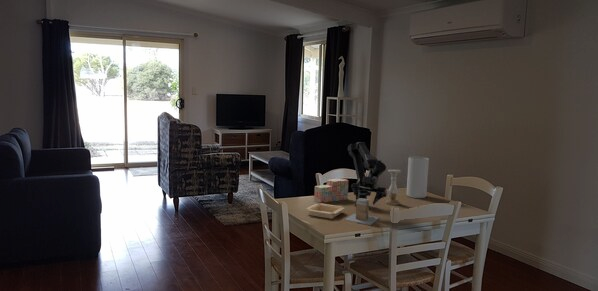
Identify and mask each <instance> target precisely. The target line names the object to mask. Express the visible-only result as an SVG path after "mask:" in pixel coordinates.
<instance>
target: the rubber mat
mask: <svg viewBox="0 0 598 291" xmlns="http://www.w3.org/2000/svg"><path fill="white" fill-rule="evenodd" d="M379 219H380V217H378V216H372V215H368V219H366V220H359V219H356V213H352V214H351V215H349V216H348V217H346V218H344V221H348V222H349V221H350V222H354V223H357V224H362V225H368V226H371V225H373V224H374V223H376V222H377V221H378V220H379Z"/></svg>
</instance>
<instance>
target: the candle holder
mask: <svg viewBox="0 0 598 291" xmlns="http://www.w3.org/2000/svg"><path fill="white" fill-rule="evenodd" d="M387 172H388V173H390V175H391V176H390V179H391V181H390V183H391V184H390V186H389V188H388V197H389V198H387V199H386V200H385V201H384V204H387V205H391V206H398V205H401V202H400V201H399V199H398V198H397V196H398V195H397V194H398V192H399V190H398V187H397V180H398V178H397V176H398V174H399V173H401V172H402V171H401V169H398V168H397V169H396V168H390V169H388V170H387Z"/></svg>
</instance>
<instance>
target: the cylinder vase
mask: <svg viewBox="0 0 598 291" xmlns="http://www.w3.org/2000/svg"><path fill="white" fill-rule="evenodd" d="M429 161H430V158H428V157H423V156H409V157H408V164H407V179H406V180H407V181H406V182H407V183H406V196H407V197H409V198H413V199H425V198H426V197H427V194H428V193H427V192H428V190H427V189H428V176H429V175H428V174H429Z"/></svg>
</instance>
